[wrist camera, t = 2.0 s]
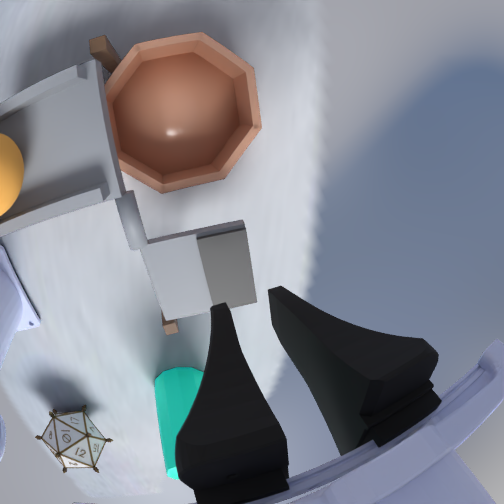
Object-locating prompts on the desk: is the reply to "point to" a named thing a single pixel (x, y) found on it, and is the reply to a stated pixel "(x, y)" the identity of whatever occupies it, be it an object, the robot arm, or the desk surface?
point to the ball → (9, 172)
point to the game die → (74, 439)
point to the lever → (113, 193)
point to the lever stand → (110, 61)
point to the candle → (174, 407)
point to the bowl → (181, 111)
